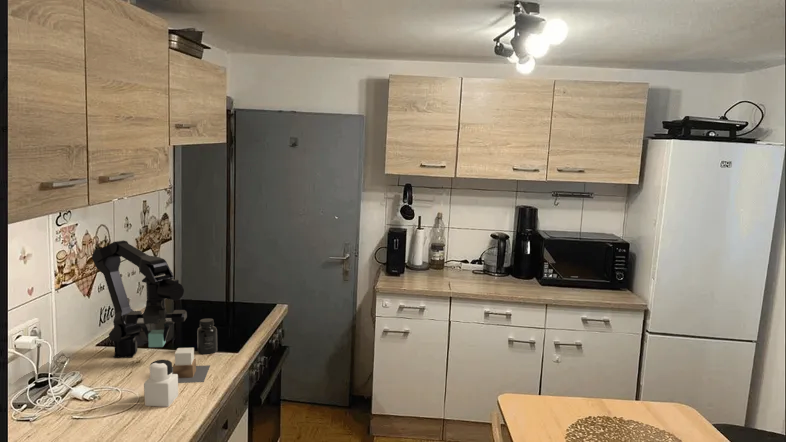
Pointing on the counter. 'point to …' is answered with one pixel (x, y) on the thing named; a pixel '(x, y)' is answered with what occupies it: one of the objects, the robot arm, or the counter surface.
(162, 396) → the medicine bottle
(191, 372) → the tower base
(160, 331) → the teal cube
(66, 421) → the counter surface
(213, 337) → the supplement bottle
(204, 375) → the mat
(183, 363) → the tower mid
